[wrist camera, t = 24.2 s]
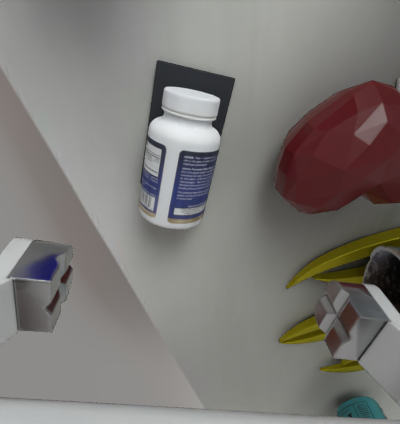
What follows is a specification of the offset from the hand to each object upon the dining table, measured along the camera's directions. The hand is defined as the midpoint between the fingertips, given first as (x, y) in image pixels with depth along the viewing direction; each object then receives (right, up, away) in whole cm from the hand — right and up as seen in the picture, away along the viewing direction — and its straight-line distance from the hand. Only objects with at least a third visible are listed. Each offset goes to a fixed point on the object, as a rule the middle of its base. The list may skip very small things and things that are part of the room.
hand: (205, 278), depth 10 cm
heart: (+11, +9, +17) cm, 22 cm away
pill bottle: (-3, +2, +16) cm, 17 cm away
